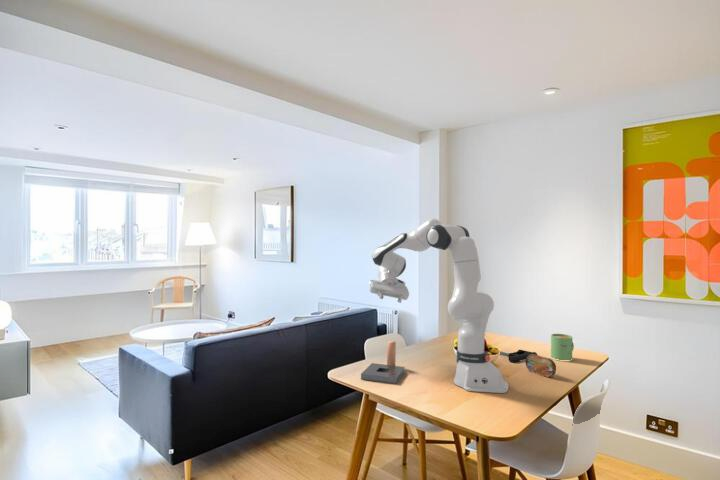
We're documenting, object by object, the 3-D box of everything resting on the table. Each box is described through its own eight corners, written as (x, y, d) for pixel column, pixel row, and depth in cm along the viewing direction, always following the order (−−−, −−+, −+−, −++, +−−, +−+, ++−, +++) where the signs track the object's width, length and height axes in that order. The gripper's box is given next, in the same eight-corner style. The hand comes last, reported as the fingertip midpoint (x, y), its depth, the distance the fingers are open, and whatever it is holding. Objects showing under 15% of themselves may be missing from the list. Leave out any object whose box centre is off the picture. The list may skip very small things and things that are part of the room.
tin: (524, 369, 190) (525, 352, 191) (529, 368, 192) (529, 351, 192) (552, 379, 177) (552, 360, 177) (557, 378, 179) (557, 360, 179)
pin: (396, 365, 194) (396, 341, 194) (394, 368, 190) (394, 343, 190) (388, 364, 195) (388, 340, 195) (386, 367, 192) (386, 342, 192)
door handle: (489, 351, 214) (514, 357, 200) (515, 347, 223) (540, 352, 209) (490, 357, 213) (514, 364, 199) (515, 353, 223) (540, 359, 209)
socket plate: (404, 372, 185) (404, 367, 185) (396, 384, 169) (396, 378, 169) (371, 368, 190) (372, 363, 190) (361, 379, 175) (361, 373, 175)
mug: (560, 362, 203) (560, 338, 203) (546, 356, 213) (546, 334, 213) (581, 360, 206) (581, 337, 206) (566, 355, 216) (566, 333, 216)
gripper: (370, 274, 204) (372, 290, 192) (407, 282, 207) (412, 298, 195) (367, 284, 207) (368, 300, 195) (404, 292, 210) (407, 308, 198)
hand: (390, 299), depth 195 cm, fingers open, 8 cm apart
